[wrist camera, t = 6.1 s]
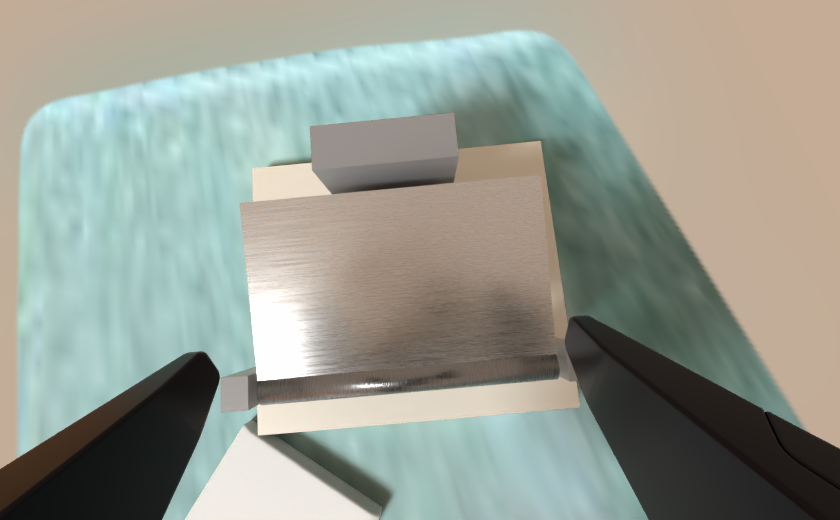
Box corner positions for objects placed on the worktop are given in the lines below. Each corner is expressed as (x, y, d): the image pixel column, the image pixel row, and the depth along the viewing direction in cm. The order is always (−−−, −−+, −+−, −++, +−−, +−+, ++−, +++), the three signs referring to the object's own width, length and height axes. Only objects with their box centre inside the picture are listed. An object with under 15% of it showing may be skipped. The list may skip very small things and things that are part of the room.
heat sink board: (572, 402, 18) (683, 472, 10) (267, 428, 18) (143, 519, 10) (535, 149, 20) (604, 44, 12) (260, 175, 20) (153, 88, 12)
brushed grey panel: (561, 384, 13) (543, 173, 12) (258, 411, 13) (236, 202, 13) (548, 373, 14) (532, 180, 14) (272, 397, 14) (253, 206, 14)
